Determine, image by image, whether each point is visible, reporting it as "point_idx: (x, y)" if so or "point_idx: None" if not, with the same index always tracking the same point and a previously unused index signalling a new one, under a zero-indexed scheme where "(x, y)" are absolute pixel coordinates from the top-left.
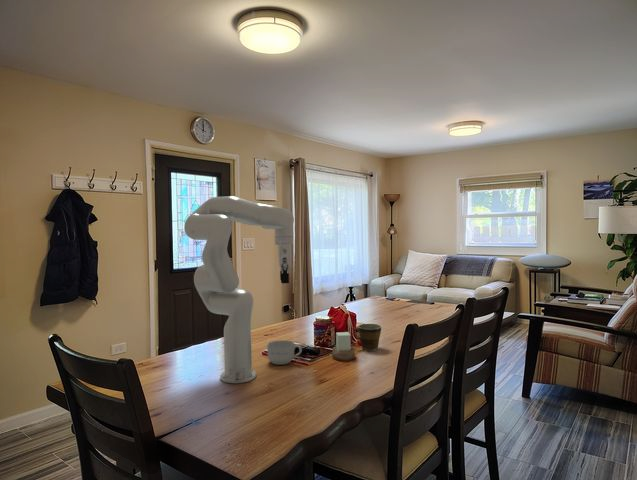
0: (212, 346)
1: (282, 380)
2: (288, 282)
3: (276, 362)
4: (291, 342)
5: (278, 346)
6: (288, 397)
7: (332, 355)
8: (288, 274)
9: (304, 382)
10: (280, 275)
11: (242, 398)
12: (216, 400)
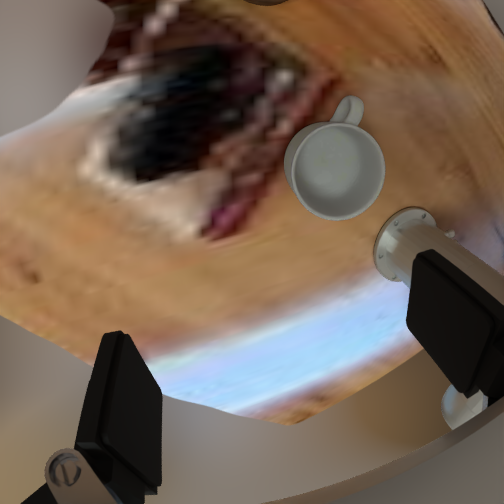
0: (177, 374)
1: (431, 145)
2: (431, 254)
3: (353, 171)
4: (312, 135)
5: (384, 175)
6: (487, 132)
7: (270, 3)
8: (500, 309)
9: (441, 97)
10: (155, 440)
11: (480, 209)
12: (476, 246)
